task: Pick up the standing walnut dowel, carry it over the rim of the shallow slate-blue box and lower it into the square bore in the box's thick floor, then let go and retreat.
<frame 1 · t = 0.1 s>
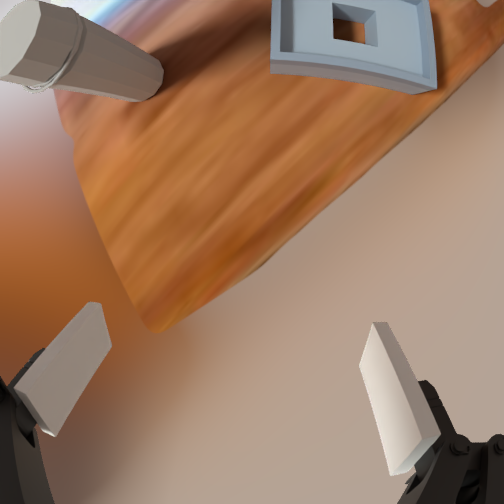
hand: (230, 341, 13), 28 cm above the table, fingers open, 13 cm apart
box: (345, 36, 29), on the table
water bottle: (137, 81, 33), on the table
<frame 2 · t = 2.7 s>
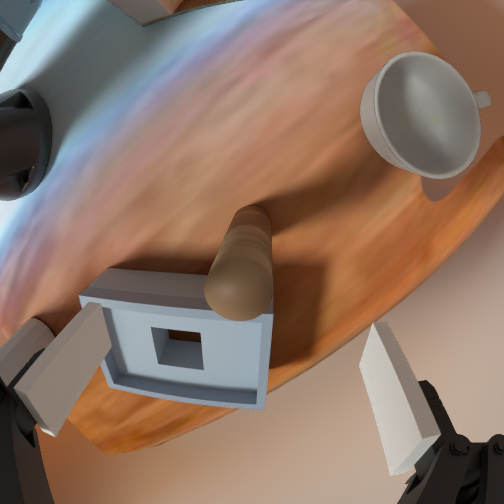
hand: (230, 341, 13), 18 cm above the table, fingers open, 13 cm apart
box: (188, 324, 35), on the table
peg: (251, 224, 30), on the table
water bottle: (40, 332, 39), on the table
teacup: (409, 116, 25), on the table
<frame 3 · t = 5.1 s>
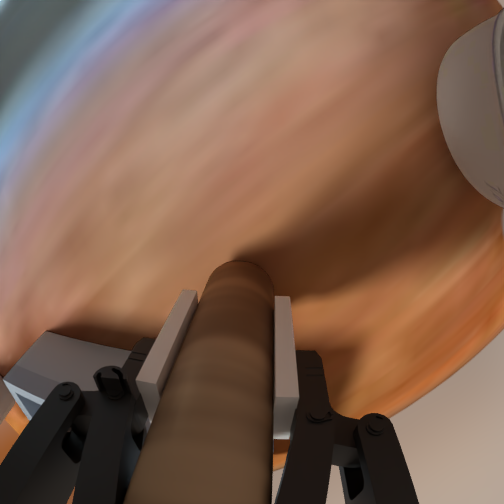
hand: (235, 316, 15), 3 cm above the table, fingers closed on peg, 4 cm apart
box: (156, 408, 22), on the table
peg: (240, 291, 17), on the table, touching gripper
teacup: (492, 114, 12), on the table
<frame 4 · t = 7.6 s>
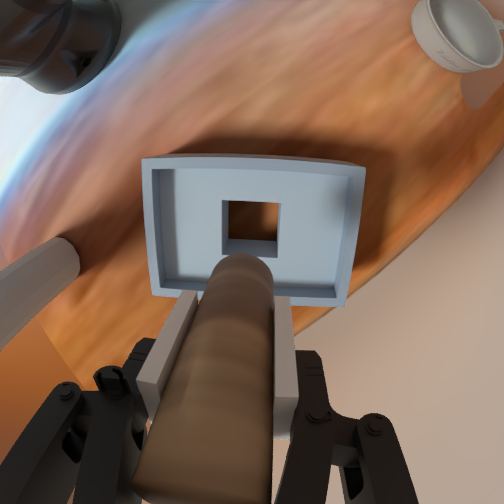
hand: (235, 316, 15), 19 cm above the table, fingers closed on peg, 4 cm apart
box: (253, 216, 33), on the table
peg: (242, 282, 19), point 16 cm above the table, touching gripper
water bottle: (61, 257, 37), on the table
teacup: (445, 39, 23), on the table
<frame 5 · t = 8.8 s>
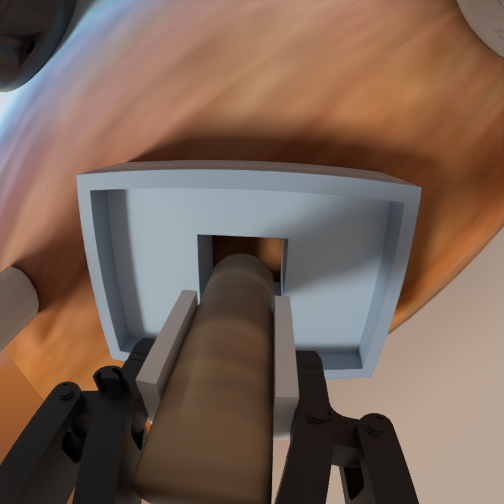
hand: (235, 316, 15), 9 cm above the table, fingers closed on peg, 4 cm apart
box: (247, 249, 23), on the table
peg: (241, 282, 19), point 5 cm above the table, touching gripper
water bottle: (19, 289, 27), on the table
teacup: (490, 20, 13), on the table
when the fingers open (7 cm above the table, at t = 9.9 s): peg drops 2 cm, resting in box.
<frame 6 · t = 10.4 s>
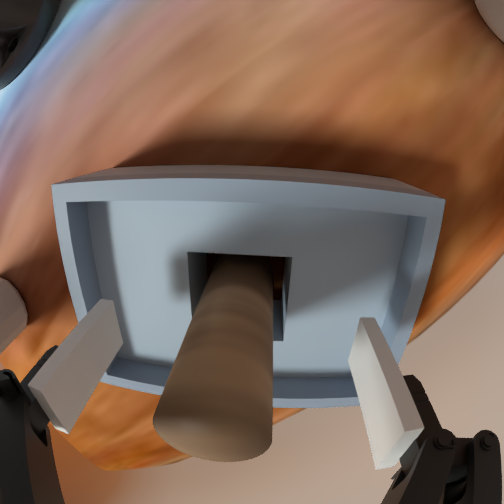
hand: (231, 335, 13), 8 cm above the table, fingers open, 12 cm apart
box: (245, 264, 21), on the table
peg: (244, 265, 21), resting in box
water bottle: (8, 300, 25), on the table
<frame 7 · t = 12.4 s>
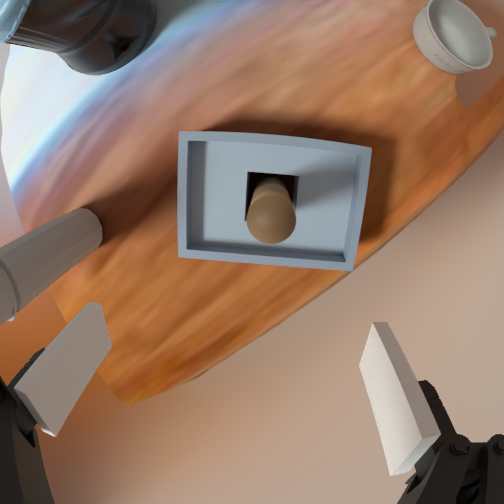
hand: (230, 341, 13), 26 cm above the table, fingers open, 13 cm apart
box: (271, 191, 36), on the table
peg: (270, 191, 36), resting in box
water bottle: (83, 229, 40), on the table
teacup: (442, 44, 26), on the table
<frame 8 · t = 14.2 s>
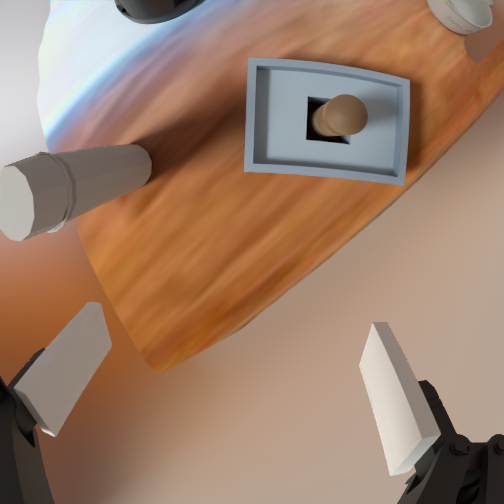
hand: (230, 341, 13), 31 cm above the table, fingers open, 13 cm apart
box: (322, 122, 37), on the table
peg: (322, 122, 37), resting in box
water bottle: (128, 167, 41), on the table
teacup: (450, 13, 26), on the table
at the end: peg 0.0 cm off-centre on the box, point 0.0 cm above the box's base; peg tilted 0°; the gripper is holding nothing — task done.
